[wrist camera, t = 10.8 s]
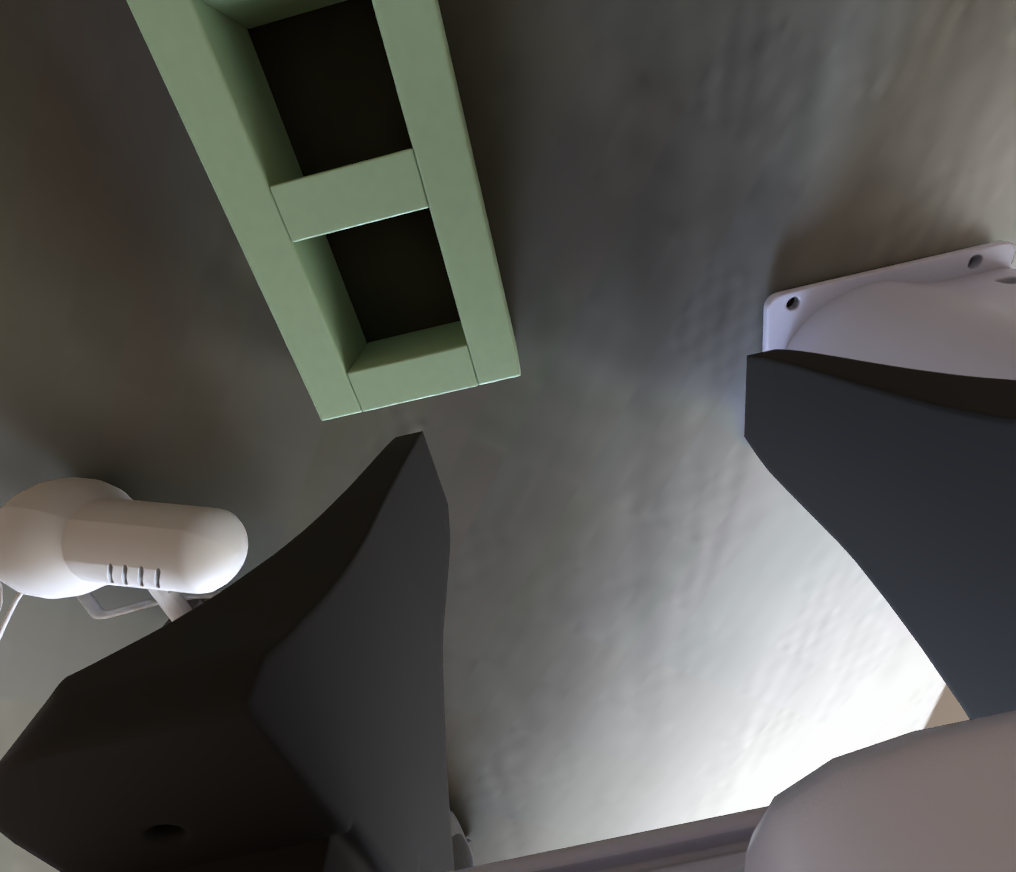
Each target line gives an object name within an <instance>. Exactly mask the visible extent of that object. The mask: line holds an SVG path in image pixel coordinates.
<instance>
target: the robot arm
mask: <svg viewBox="0 0 1016 872" xmlns="http://www.w3.org/2000/svg"><path fill="white" fill-rule="evenodd" d="M1014 250H1015V247H1014V245H1013V244H1012V243H1010V242H1006V241H996V242H991V243H987V244H983V245H978V246H974V247H970V248H965V249H961V250H957V251H952V252H948V253H944V254H940V255H935V256H931V257H927V258H922V259H918V260H914V261H909V262H905V263H901V264H896V265H892V266H888V267H883V268H879V269H875V270H870V271H866V272H862V273H857V274H853V275H849V276H844V277H840V278H836V279H832V280H827V281H823V282H819V283H814V284H810V285H806V286H801V287H797V288H793V289H788V290H784V291H780V292H776V293H774V294H771V295H770V296H769V297H768V298H767V300H766V301H765V303H764V313H763V350H762V352H761V353H757V354H752V355H748V356H747V374H746V405H745V435H744V437H745V438H746V440H747V441H748V443H749V444H750V446H751V447H752V449H753V450H754V452H755V453H756V455H757V456H758V457H759V459H760V460H761V461H762V463H763V464H764V465H765V467H766V468H767V469H768V471H769V472H770V473H771V474H772V475H773V476H774V477H775V478H776V479H777V480H778V481H779V482H780V483H781V484H782V485H783V486H784V488H785V489H786V490H787V491H788V492H789V493H790V494H791V495H792V496H793V497H794V498H795V499H796V500H797V501H798V502H799V503H800V504H801V505H802V506H803V507H804V508H805V509H806V510H807V511H808V512H809V513H810V514H811V515H812V516H813V517H814V518H815V519H816V520H817V521H818V522H819V523H820V524H821V525H822V526H823V527H824V528H825V529H826V530H827V531H828V532H829V533H830V534H831V535H832V536H833V537H834V538H835V539H836V540H837V541H838V542H839V543H840V545H841V546H842V547H843V548H844V549H845V550H846V551H847V552H848V553H849V555H850V556H851V557H852V558H853V559H854V560H855V561H856V563H857V564H858V565H859V566H860V568H861V569H862V570H863V571H864V573H865V574H866V575H867V576H868V578H869V579H870V580H871V581H872V583H873V584H874V585H875V587H876V588H877V589H878V590H879V592H880V593H881V594H882V595H883V597H884V598H885V599H886V600H887V602H888V603H889V604H890V606H891V607H892V609H893V610H894V611H895V613H896V614H897V615H898V617H899V618H900V619H901V621H902V622H903V623H904V625H905V626H906V627H907V629H908V630H909V632H910V633H911V634H912V636H913V637H914V638H915V640H916V641H917V642H918V644H919V645H920V646H921V648H922V649H923V651H924V652H925V654H926V655H927V657H928V658H929V659H930V661H931V662H932V664H933V665H934V667H935V668H936V670H937V671H938V673H939V674H940V675H941V677H942V678H943V680H944V681H945V683H946V684H947V686H948V687H949V689H950V690H951V691H952V693H953V694H954V696H955V697H956V699H957V700H958V702H959V703H960V705H961V706H962V708H963V709H964V711H965V712H966V714H967V716H968V717H969V719H970V720H966V721H962V722H957V723H952V724H947V725H942V726H938V727H934V728H928V729H923V730H918V731H914V732H910V733H907V734H904V735H901V736H899V737H896V738H893V739H890V740H887V741H884V742H881V743H878V744H875V745H872V746H869V747H866V748H863V749H860V750H857V751H854V752H851V753H848V754H845V755H842V756H839V757H836V758H833V759H832V760H830V761H829V762H827V763H825V764H824V765H822V766H821V767H819V768H818V769H816V770H815V771H813V772H812V773H810V774H809V775H807V776H806V777H804V778H803V779H801V780H800V781H798V782H797V783H795V784H793V785H792V786H790V787H789V788H787V789H786V790H784V791H783V792H781V793H780V794H778V795H777V796H775V797H774V799H773V800H772V802H771V804H770V805H769V806H767V807H762V808H757V809H752V810H747V811H743V812H738V813H733V814H728V815H723V816H718V817H713V818H708V819H704V820H699V821H694V822H689V823H684V824H679V825H674V826H670V827H665V828H660V829H655V830H650V831H645V832H640V833H635V834H631V835H626V836H621V837H616V838H611V839H606V840H601V841H596V842H592V843H587V844H582V845H577V846H572V847H567V848H562V849H558V850H553V851H548V852H543V853H538V854H533V855H528V856H523V857H519V858H514V859H509V860H504V861H499V862H494V863H489V864H484V865H480V866H475V867H470V868H465V869H460V870H455V871H454V859H453V846H452V833H451V820H450V806H449V789H448V773H447V756H446V736H445V713H444V685H443V628H444V616H445V604H446V591H447V579H448V566H449V553H450V527H449V513H448V503H447V500H446V497H445V494H444V492H443V489H442V486H441V483H440V480H439V477H438V474H437V471H436V469H435V466H434V463H433V460H432V457H431V454H430V451H429V448H428V446H427V443H426V440H425V437H424V434H423V431H421V432H417V433H413V434H408V435H404V436H400V437H396V438H395V439H393V440H392V441H391V442H390V443H389V444H388V445H387V446H386V447H385V448H384V449H383V450H382V452H381V453H380V454H379V455H378V456H377V457H376V458H375V459H374V460H373V462H372V463H371V464H370V465H369V466H368V467H367V468H366V469H365V470H364V471H363V473H362V474H361V475H360V476H359V477H358V478H357V479H356V480H355V481H354V482H353V484H352V485H351V486H350V487H349V488H348V489H347V490H346V491H345V492H344V493H343V494H342V495H341V496H340V497H339V498H338V499H337V500H336V501H335V502H334V503H333V504H332V505H331V506H330V507H329V508H328V509H327V510H326V511H325V512H324V513H323V514H322V515H321V516H320V517H318V518H317V519H316V520H315V521H314V522H313V523H312V524H311V525H310V526H308V527H307V528H306V529H305V530H304V531H303V532H301V533H300V534H299V535H298V536H297V537H295V538H294V539H293V540H292V541H291V542H289V543H288V544H287V545H286V546H284V547H283V548H282V549H281V550H279V551H278V552H277V553H275V554H274V555H273V556H271V557H270V558H269V559H267V560H266V561H264V562H263V563H262V564H260V565H259V566H257V567H256V568H255V569H253V570H252V571H250V572H249V573H247V574H246V575H245V576H243V577H242V578H240V579H239V580H238V581H236V582H235V583H233V584H232V585H231V586H229V587H228V588H226V589H224V590H223V591H221V592H220V593H218V594H217V595H215V596H213V597H212V598H210V599H209V600H207V601H206V602H204V603H202V604H201V605H199V606H198V607H196V608H194V609H192V610H191V611H189V612H187V613H186V614H184V615H182V616H181V617H179V618H177V619H176V620H174V621H172V622H170V623H169V624H167V625H165V626H163V627H162V628H160V629H158V630H156V631H155V632H153V633H151V634H149V635H147V636H145V637H144V638H142V639H140V640H138V641H136V642H134V643H132V644H130V645H128V646H126V647H124V648H122V649H121V650H119V651H117V652H115V653H113V654H111V655H109V656H107V657H105V658H103V659H101V660H100V661H98V662H96V663H94V664H92V665H90V666H88V667H86V668H84V669H82V670H80V671H78V672H76V673H74V674H72V675H70V676H68V677H66V678H65V679H64V680H63V681H62V682H61V683H60V684H59V685H58V687H57V688H56V689H55V691H54V692H53V693H52V695H51V696H50V697H49V699H48V700H47V701H46V703H45V704H44V705H43V706H42V708H41V709H40V710H39V712H38V713H37V714H36V715H35V717H34V718H33V719H32V721H31V722H30V723H29V725H28V726H27V727H26V728H25V730H24V731H23V732H22V734H21V735H20V736H19V737H18V739H17V740H16V741H15V743H14V744H13V745H12V746H11V748H10V749H9V750H8V752H7V753H6V754H5V756H4V757H3V758H2V759H1V761H0V832H1V833H2V834H4V835H5V836H6V837H7V838H9V839H10V840H11V841H12V842H14V843H15V844H17V845H18V846H20V847H21V848H23V849H25V850H26V851H28V852H29V853H31V854H33V855H34V856H36V857H38V858H39V859H41V860H42V861H44V862H46V863H47V864H49V865H50V866H52V867H54V868H55V869H57V870H59V871H60V872H1016V269H1012V268H1010V267H1011V263H1012V260H1013V256H1014ZM972 257H973V258H974V259H973V261H972V263H971V264H970V265H968V263H969V260H970V259H971V258H972ZM792 297H794V299H795V300H794V303H793V304H792V305H791V306H790V307H788V308H787V302H788V300H789V299H790V298H792Z"/></svg>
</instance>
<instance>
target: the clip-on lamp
mask: <svg viewBox="0 0 1016 872" xmlns="http://www.w3.org/2000/svg"><path fill="white" fill-rule="evenodd" d="M247 550H248V538H247V533H246V530H245V528H244V526H243V524H242V523H241V521H240V520H239V519H238V518H237V517H236V515H235V514H233V513H231V512H229V511H228V510H225V509H220V508H212V507H201V506H191V505H180V504H170V503H159V502H148V501H138V500H132V499H131V498H130V497H129V496H128V495H127V494H126V493H125V492H124V491H123V490H121V489H119V488H117V487H115V486H113V485H110V484H108V483H106V482H104V481H101V480H96V479H88V478H78V477H66V478H61V479H56V480H51V481H46V482H42V483H39V484H37V485H34V486H32V487H30V488H28V489H26V490H24V491H22V492H20V493H18V494H16V495H15V496H14V497H13V498H12V499H10V500H9V501H8V502H7V503H6V504H5V505H4V506H2V507H1V508H0V581H2V582H3V583H5V584H6V585H8V586H9V587H11V588H12V589H14V590H16V591H17V592H18V593H17V595H16V596H15V598H14V600H13V602H12V604H11V606H10V607H9V609H8V611H7V613H6V615H5V617H4V619H3V621H2V623H1V626H0V639H1V637H2V635H3V632H4V630H5V628H6V626H7V623H8V621H9V619H10V617H11V615H12V613H13V611H14V609H15V607H16V605H17V603H18V601H19V600H20V598H21V597H22V595H23V594H26V595H31V596H36V597H42V598H47V599H56V598H64V597H72V596H75V597H76V598H77V599H78V600H79V601H80V602H81V603H82V605H83V606H84V607H85V609H86V610H87V612H88V613H89V614H90V616H91V617H93V618H94V619H105V618H110V617H114V616H118V615H122V614H126V613H130V612H133V611H137V610H141V609H145V608H149V607H153V606H157V605H160V607H161V608H162V609H163V611H164V612H165V613H166V614H167V616H168V617H169V618H170V619H169V620H168V621H167V622H166V623H165V625H167V624H169V623H170V622H172V621H174V620H176V619H177V618H179V617H181V616H182V615H184V614H186V613H187V612H189V611H191V610H192V609H194V608H196V607H198V606H199V605H201V604H202V603H204V602H203V601H201V600H200V599H203V598H212V597H213V596H215V595H217V594H218V593H220V592H221V591H215V590H216V589H218V588H220V587H222V586H223V585H225V584H227V583H228V582H229V581H230V580H231V579H232V578H233V577H234V576H235V575H236V574H237V573H238V571H239V570H240V568H241V567H242V565H243V563H244V561H245V558H246V556H247ZM105 585H116V586H126V587H136V588H145V589H148V591H149V592H150V593H151V595H152V596H153V597H154V599H151V600H147V601H143V602H139V603H136V604H132V605H128V606H125V607H121V608H117V609H113V610H108V611H104V610H103V609H102V608H101V606H100V605H99V603H98V602H97V600H96V599H95V598H94V597H93V595H92V594H91V593H90V592H91V591H93V590H96V589H98V588H100V587H103V586H105ZM181 592H184V593H181ZM2 602H3V596H2V584H1V583H0V610H1V606H2ZM165 625H164V626H165Z"/></svg>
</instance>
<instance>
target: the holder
mask: <svg viewBox="0 0 1016 872" xmlns="http://www.w3.org/2000/svg"><path fill="white" fill-rule="evenodd" d="M126 1H127V3H128V5H129V7H130V9H131V11H132V14H133V16H134V18H135V20H136V22H137V24H138V26H139V29H140V31H141V33H142V35H143V37H144V39H145V41H146V44H147V46H148V48H149V50H150V52H151V54H152V57H153V59H154V61H155V63H156V65H157V67H158V69H159V72H160V74H161V76H162V78H163V80H164V82H165V85H166V87H167V89H168V91H169V93H170V95H171V97H172V100H173V102H174V104H175V106H176V108H177V110H178V112H179V115H180V117H181V119H182V121H183V123H184V125H185V128H186V130H187V132H188V134H189V136H190V138H191V140H192V143H193V145H194V147H195V149H196V151H197V153H198V156H199V158H200V160H201V162H202V164H203V166H204V168H205V171H206V173H207V175H208V177H209V179H210V181H211V184H212V186H213V188H214V190H215V192H216V194H217V196H218V199H219V201H220V203H221V205H222V207H223V209H224V211H225V214H226V216H227V218H228V220H229V222H230V224H231V227H232V229H233V231H234V233H235V235H236V237H237V239H238V242H239V244H240V246H241V248H242V250H243V252H244V255H245V257H246V259H247V261H248V263H249V265H250V267H251V270H252V272H253V274H254V276H255V278H256V280H257V283H258V285H259V287H260V289H261V291H262V293H263V295H264V298H265V300H266V302H267V304H268V306H269V308H270V310H271V313H272V315H273V317H274V319H275V321H276V323H277V326H278V328H279V330H280V332H281V334H282V336H283V338H284V341H285V343H286V345H287V347H288V349H289V351H290V354H291V356H292V358H293V360H294V362H295V364H296V366H297V369H298V371H299V373H300V375H301V377H302V379H303V382H304V384H305V386H306V388H307V390H308V392H309V394H310V397H311V399H312V401H313V403H314V405H315V407H316V409H317V412H318V414H319V416H320V418H321V420H322V421H324V420H329V419H333V418H337V417H342V416H346V415H351V414H355V413H359V412H362V411H369V410H373V409H378V408H382V407H386V406H391V405H395V404H399V403H404V402H408V401H413V400H417V399H421V398H426V397H430V396H435V395H439V394H443V393H448V392H452V391H457V390H461V389H465V388H470V387H474V386H477V385H478V384H479V385H482V384H486V383H490V382H495V381H499V380H504V379H508V378H512V377H517V376H520V375H521V370H520V364H519V358H518V352H517V347H516V342H515V337H514V333H513V329H512V324H511V320H510V315H509V311H508V307H507V302H506V298H505V293H504V289H503V285H502V280H501V276H500V271H499V267H498V262H497V258H496V254H495V249H494V245H493V240H492V236H491V232H490V227H489V223H488V218H487V214H486V210H485V205H484V201H483V196H482V192H481V188H480V183H479V179H478V174H477V170H476V166H475V161H474V157H473V152H472V148H471V144H470V139H469V135H468V130H467V126H466V122H465V117H464V113H463V108H462V104H461V100H460V95H459V91H458V86H457V82H456V78H455V73H454V69H453V64H452V60H451V56H450V51H449V47H448V42H447V38H446V34H445V29H444V25H443V20H442V16H441V12H440V7H439V3H438V0H372V3H373V7H374V10H375V14H376V18H377V21H378V25H379V28H380V32H381V36H382V39H383V43H384V46H385V50H386V54H387V57H388V61H389V64H390V68H391V72H392V75H393V79H394V82H395V86H396V90H397V93H398V97H399V100H400V104H401V108H402V111H403V115H404V118H405V122H406V126H407V129H408V133H409V136H410V140H411V144H412V147H413V149H411V148H410V149H407V150H403V151H399V152H395V153H392V154H388V155H384V156H380V157H377V158H373V159H369V160H365V161H362V162H358V163H354V164H350V165H347V166H343V167H339V168H336V169H332V170H328V171H324V172H321V173H317V174H313V175H309V176H306V177H303V174H302V171H301V169H300V166H299V163H298V161H297V158H296V156H295V153H294V150H293V148H292V145H291V142H290V140H289V137H288V135H287V132H286V129H285V127H284V124H283V121H282V119H281V116H280V114H279V111H278V108H277V106H276V103H275V100H274V98H273V95H272V93H271V90H270V87H269V85H268V82H267V79H266V77H265V74H264V72H263V69H262V66H261V64H260V61H259V58H258V56H257V53H256V51H255V48H254V45H253V43H252V40H251V37H250V35H249V32H248V30H247V28H248V29H251V28H254V27H257V26H261V25H264V24H268V23H271V22H274V21H278V20H281V19H285V18H288V17H292V16H295V15H298V14H302V13H305V12H309V11H312V10H315V9H319V8H322V7H326V6H329V5H333V4H336V3H339V2H343V1H346V0H126ZM428 207H429V208H430V212H431V216H432V219H433V223H434V226H435V230H436V234H437V237H438V241H439V244H440V248H441V252H442V255H443V259H444V262H445V266H446V270H447V273H448V277H449V281H450V284H451V288H452V291H453V295H454V299H455V302H456V306H457V309H458V313H459V317H460V320H461V321H456V322H452V323H448V324H444V325H440V326H436V327H431V328H427V329H423V330H419V331H415V332H410V333H406V334H402V335H398V336H394V337H389V338H385V339H381V340H377V341H373V342H369V343H367V342H366V339H365V337H364V334H363V332H362V329H361V326H360V324H359V321H358V318H357V316H356V313H355V311H354V308H353V305H352V303H351V300H350V297H349V295H348V292H347V290H346V287H345V284H344V282H343V279H342V276H341V274H340V271H339V269H338V266H337V263H336V261H335V258H334V255H333V253H332V250H331V248H330V245H329V242H328V240H327V237H326V234H328V233H332V232H336V231H340V230H344V229H348V228H352V227H356V226H360V225H363V224H367V223H371V222H375V221H379V220H383V219H387V218H391V217H395V216H398V215H402V214H406V213H410V212H414V211H418V210H422V209H426V208H428Z"/></svg>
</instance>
